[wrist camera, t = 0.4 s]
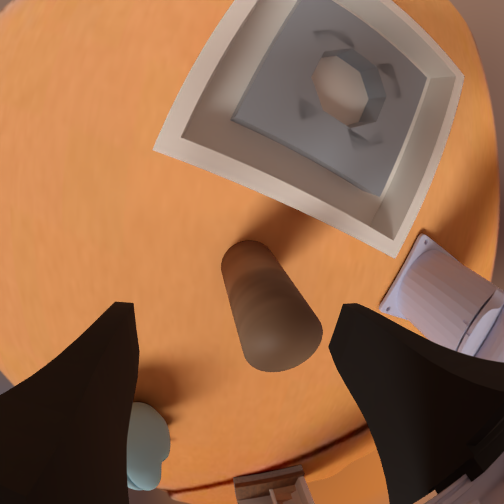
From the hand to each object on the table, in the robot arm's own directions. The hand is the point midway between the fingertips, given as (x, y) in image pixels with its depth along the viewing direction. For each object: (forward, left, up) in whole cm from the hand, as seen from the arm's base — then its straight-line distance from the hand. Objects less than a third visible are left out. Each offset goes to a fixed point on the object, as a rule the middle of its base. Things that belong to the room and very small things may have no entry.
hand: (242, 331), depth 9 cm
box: (-3, -12, -9) cm, 15 cm away
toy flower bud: (0, +21, -10) cm, 23 cm away
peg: (-3, +1, -9) cm, 10 cm away
